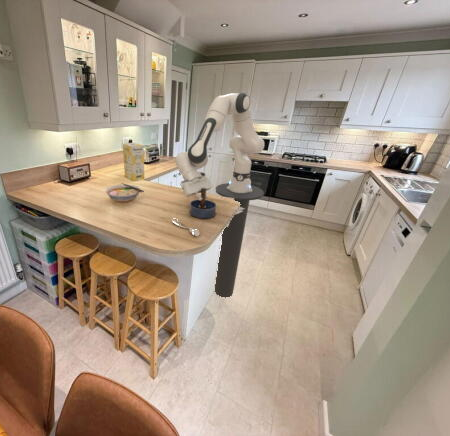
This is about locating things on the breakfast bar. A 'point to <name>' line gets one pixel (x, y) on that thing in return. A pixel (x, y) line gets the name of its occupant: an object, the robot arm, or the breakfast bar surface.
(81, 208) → the breakfast bar surface
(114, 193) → the ramen bowl
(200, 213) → the mixing bowl
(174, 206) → the breakfast bar surface
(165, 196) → the breakfast bar surface
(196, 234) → the silver metal spoon
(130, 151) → the pasta box
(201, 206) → the muddler
